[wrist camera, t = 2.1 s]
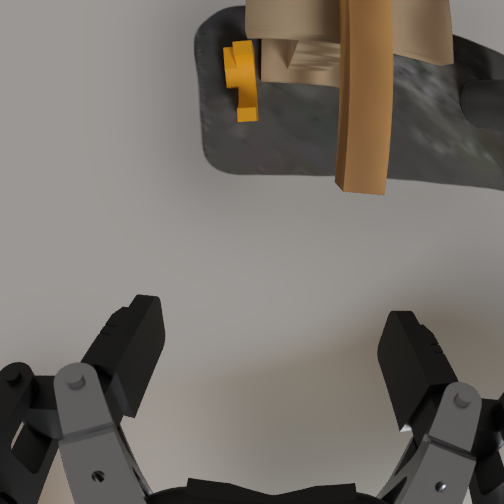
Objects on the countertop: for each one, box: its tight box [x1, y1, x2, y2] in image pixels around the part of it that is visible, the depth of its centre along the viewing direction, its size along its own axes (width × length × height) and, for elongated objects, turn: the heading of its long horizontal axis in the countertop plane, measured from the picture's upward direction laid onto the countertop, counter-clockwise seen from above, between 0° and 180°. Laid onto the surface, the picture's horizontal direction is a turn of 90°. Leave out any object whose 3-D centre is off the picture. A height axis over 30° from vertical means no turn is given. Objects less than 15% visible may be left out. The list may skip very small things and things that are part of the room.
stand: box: [245, 0, 454, 87], centre depth 27 cm, size 14×10×31 cm
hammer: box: [335, 0, 393, 195], centre depth 13 cm, size 8×19×4 cm, turn 179°
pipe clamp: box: [223, 40, 259, 122], centre depth 41 cm, size 12×4×6 cm, turn 4°
